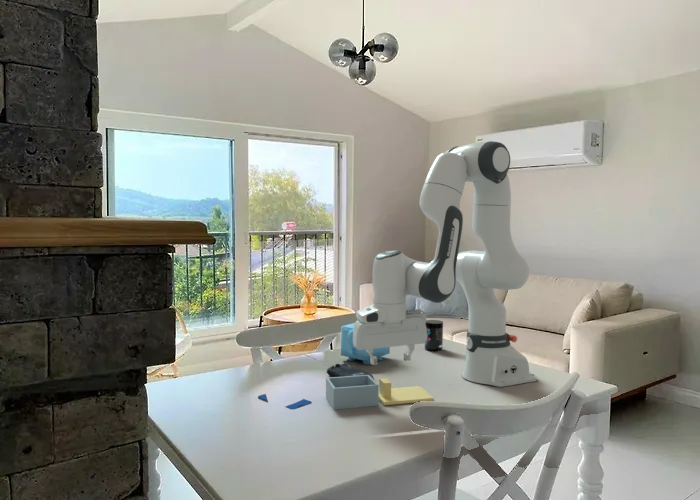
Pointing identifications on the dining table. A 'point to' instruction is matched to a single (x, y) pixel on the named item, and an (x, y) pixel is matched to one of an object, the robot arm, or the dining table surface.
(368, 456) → the dining table surface
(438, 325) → the supplement container
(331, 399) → the tub
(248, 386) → the dining table surface
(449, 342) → the dining table surface
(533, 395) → the dining table surface
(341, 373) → the electronic device
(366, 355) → the teapot
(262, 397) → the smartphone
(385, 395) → the lid
